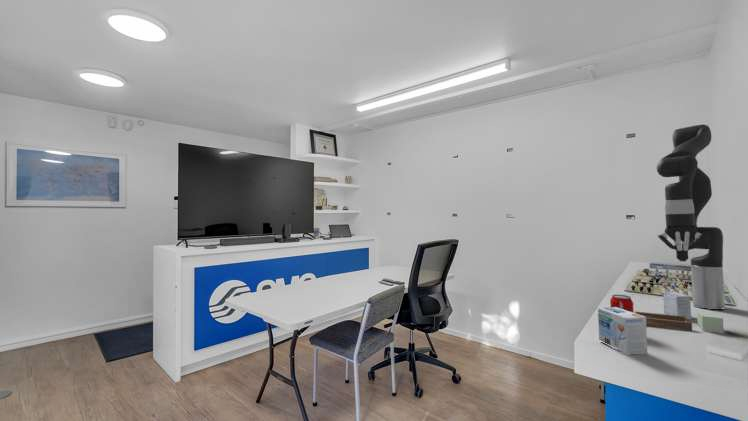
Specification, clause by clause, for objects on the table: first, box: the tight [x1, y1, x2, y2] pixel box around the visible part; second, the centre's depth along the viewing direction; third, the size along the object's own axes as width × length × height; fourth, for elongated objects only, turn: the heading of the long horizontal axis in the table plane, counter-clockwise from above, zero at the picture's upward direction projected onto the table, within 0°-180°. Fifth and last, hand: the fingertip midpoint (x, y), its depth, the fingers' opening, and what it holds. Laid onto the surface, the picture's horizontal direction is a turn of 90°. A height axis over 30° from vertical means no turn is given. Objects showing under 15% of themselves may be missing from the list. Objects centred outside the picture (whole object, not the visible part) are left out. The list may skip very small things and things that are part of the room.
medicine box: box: [662, 291, 692, 321], centre depth 125 cm, size 8×4×9 cm, turn 168°
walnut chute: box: [634, 311, 693, 331], centre depth 117 cm, size 8×14×2 cm, turn 59°
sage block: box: [696, 311, 725, 334], centre depth 110 cm, size 5×5×5 cm
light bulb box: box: [597, 306, 648, 356], centre depth 98 cm, size 11×7×11 cm, turn 5°
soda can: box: [609, 294, 635, 313], centre depth 111 cm, size 6×6×12 cm
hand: (682, 261), depth 116 cm, fingers closed
